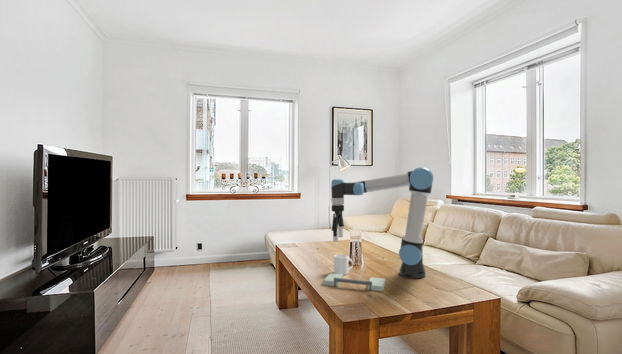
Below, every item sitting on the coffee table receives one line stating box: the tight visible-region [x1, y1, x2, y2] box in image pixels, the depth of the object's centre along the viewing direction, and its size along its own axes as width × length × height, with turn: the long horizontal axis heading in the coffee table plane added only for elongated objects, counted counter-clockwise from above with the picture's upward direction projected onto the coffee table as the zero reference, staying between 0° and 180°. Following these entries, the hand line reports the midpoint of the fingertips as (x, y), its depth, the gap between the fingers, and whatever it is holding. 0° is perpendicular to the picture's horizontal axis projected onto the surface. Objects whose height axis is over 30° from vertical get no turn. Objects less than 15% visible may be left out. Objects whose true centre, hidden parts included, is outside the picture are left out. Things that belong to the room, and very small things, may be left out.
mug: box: [333, 253, 354, 276], centre depth 197 cm, size 9×12×11 cm
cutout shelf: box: [323, 272, 386, 292], centre depth 178 cm, size 32×13×4 cm, turn 71°
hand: (338, 239), depth 197 cm, fingers open, 13 cm apart
